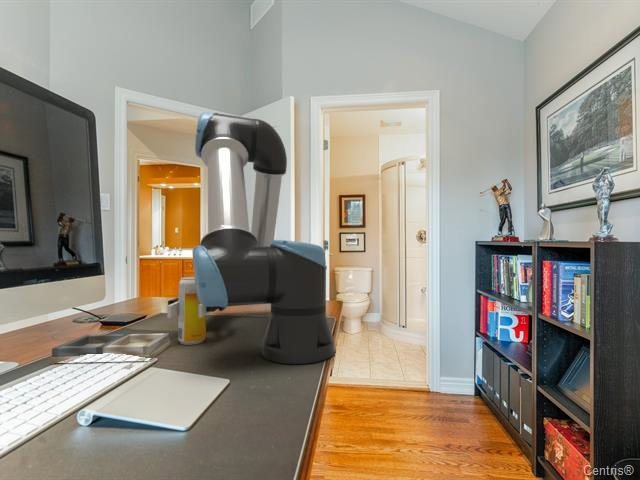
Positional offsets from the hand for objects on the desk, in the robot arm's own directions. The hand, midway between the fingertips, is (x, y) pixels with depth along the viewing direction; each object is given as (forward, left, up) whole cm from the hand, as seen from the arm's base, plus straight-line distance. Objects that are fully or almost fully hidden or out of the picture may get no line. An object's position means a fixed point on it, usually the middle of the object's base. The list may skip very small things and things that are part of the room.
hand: (184, 311), depth 71 cm
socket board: (+13, +3, -8) cm, 16 cm away
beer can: (0, -5, -8) cm, 10 cm away
